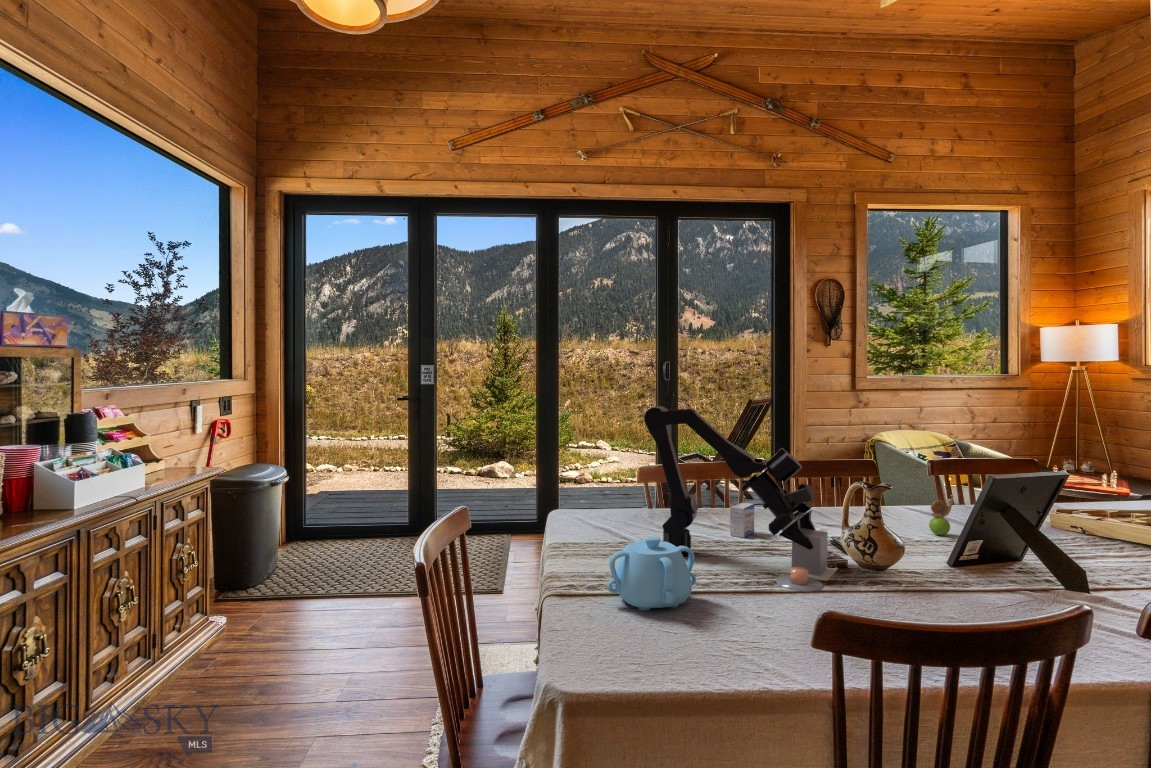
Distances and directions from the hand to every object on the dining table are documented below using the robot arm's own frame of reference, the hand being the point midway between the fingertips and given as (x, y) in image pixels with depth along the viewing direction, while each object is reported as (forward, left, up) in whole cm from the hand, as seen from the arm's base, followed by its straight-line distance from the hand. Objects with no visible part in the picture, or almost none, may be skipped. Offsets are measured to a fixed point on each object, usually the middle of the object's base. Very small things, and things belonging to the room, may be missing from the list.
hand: (815, 545), depth 154 cm
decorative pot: (-46, -3, -7) cm, 46 cm away
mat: (-1, +1, -7) cm, 7 cm away
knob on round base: (-10, -6, -7) cm, 13 cm away
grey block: (-1, +1, -6) cm, 6 cm away
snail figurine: (+59, +14, -7) cm, 61 cm away
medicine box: (+4, +35, -7) cm, 36 cm away
